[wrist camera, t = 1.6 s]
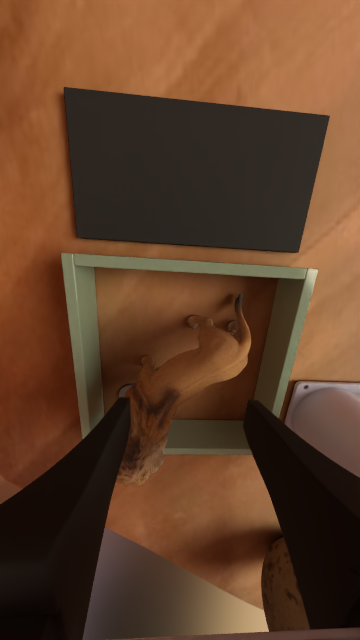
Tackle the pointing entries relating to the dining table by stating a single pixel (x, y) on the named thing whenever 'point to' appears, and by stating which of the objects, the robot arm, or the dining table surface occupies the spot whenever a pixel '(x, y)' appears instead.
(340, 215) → the dining table surface
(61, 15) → the dining table surface
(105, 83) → the dining table surface
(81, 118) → the mat
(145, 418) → the lion figurine
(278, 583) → the decorative egg
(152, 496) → the dining table surface
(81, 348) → the green square tray
